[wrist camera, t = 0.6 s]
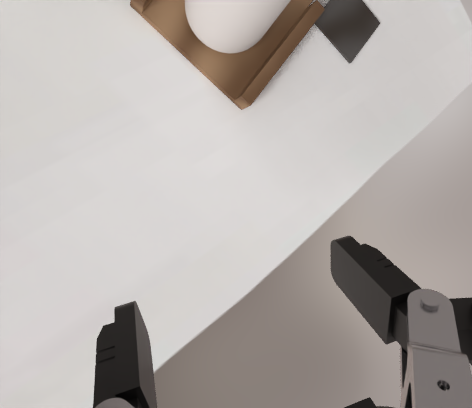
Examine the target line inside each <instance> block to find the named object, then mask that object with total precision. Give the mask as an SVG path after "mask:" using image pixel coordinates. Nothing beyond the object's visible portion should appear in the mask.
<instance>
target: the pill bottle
mask: <svg viewBox="0 0 472 408" xmlns="http://www.w3.org/2000/svg"><path fill="white" fill-rule="evenodd" d="M290 1H291V0H185V12H186V17H187V20H188V23H189V25H190V27H191V29H192V31H193V32H194V34H195V35H196V36H197V38H198V39H199V40H200V41H201V42H202V43H204V44H205V45H206V46H208V47H209V48H211V49H213V50H216V51H218V52H222V53H239V52H243V51H245V50H248V49H249V48H251V47H252V46H254V45H255V44H256V43H257V42H259V41H260V39H261V38H262V37H263V36H264V34H265V33H266V32H267V31H268V29H269V28H270V27H271V25H272V24H273V23H274V21H275V20H276V19H277V18H278V16H279V15H280V14H281V12H282V11H283V10H284V8H285V7H286V6H287V5H288V3H289V2H290Z"/></svg>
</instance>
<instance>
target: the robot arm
mask: <svg viewBox="0 0 472 408" xmlns="http://www.w3.org/2000/svg"><path fill="white" fill-rule="evenodd" d="M331 273H332V276H333V279H334V281H335V282H336V284H337V285H338V287H339V288H340V289H341V290H342V291H343V293H344V294H345V295H346V296H347V297H348V299H349V300H350V301H351V302H352V303H353V305H354V306H355V307H356V308H357V310H358V311H359V312H360V313H361V314H362V316H363V317H364V318H365V319H366V321H367V322H368V323H369V324H370V326H371V327H372V328H373V329H374V330H375V332H376V333H377V334H378V335H379V337H380V338H381V339H382V340H383V341H384V343H385V344H389V343H391V342H394V341H397V342H398V343H399V344H400V345H401V348H400V371H401V372H400V374H401V403H400V408H472V375H471V370H470V365H469V363H470V364H471V365H472V298H456V299H448V298H447V297H446V296H444V295H443V294H441V293H439V292H437V291H434V290H429V289H421V288H420V287H419V286H418V285H417V284H416V283H414V282H413V281H412V280H411V279H410V278H409V277H408V276H407V275H406V274H404V273H403V272H402V271H401V270H400V269H399V268H398V267H397V266H394V264H393V263H392V262H391V261H390V260H389V259H387V258H386V257H385V256H384V255H383V254H382V253H381V252H380V251H379V250H378V249H376V248H373V247H371V246H369V245H367V244H362V245H360V244H359V243H358V242H357V241H356V240H355V239H354V238H353V237H351V236H346V237H343V238H339V239H336V240H333V241H332V242H331ZM96 352H97V354H96V366H95V385H94V404H93V408H157V402H156V392H155V383H154V374H153V364H152V355H151V346H150V340H149V336H148V332H147V329H146V326H145V323H144V321H143V318H142V316H141V313H140V310H139V308H138V305H137V303H136V301H133V302H130V303H127V304H124V305H121V306H117V307H115V322H114V323H111V324H108V325H105V326H103V328H102V330H101V332H100V334H99V336H98V338H97V347H96ZM345 408H393V407H384V406H382V407H381V406H377V407H376V406H375V404H374V403H373V401H372V400H371V398H367V399H364V400H362V401H359V402H357V403H355V404H352V405H350V406H347V407H345Z"/></svg>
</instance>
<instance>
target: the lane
mask: <svg viewBox="0 0 472 408" xmlns="http://www.w3.org/2000/svg"><path fill="white" fill-rule="evenodd" d="M312 1H313V0H291V1H290V2H289V3H288V5H287V6H286V7H285V8H284V10H283V11H282V12H281V14H280V15H279V16H278V18H277V19H276V20H275V21H274V23H273V24H272V25H271V27H270V28H269V29H268V31H267V32H266V33H265V34H264V36H263V37H262V38H261V39H260V41H259V42H257V43H256V44H255V45H254V46H252V47H251V48H249V49H248V50H245V51H243V52H239V53H222V52H218V51H216V50H213V49H211V48H209V47H208V46H206V45H205V44H204V43H202V42H201V41H200V40H199V39H198V38H197V36H196V35H195V34H194V32H193V31H192V29H191V27H190V25H189V23H188V20H187V17H186V12H185V0H131V2H130V6H131V7H132V8H133V9H135V10H136V11H137V12H138V13H139V14H140V15H141V16H142V17H143V18H144V19H145V20H146V21H147V22H148V23H149V24H150V25H152V26H153V27H154V28H155V29H156V30H157V31H158V32H159V33H160V34H161V35H162V36H163V37H164V38H165V39H166V40H168V41H169V42H170V43H171V44H172V45H173V46H174V47H175V48H176V49H177V50H178V51H179V52H180V53H181V54H182V55H183V56H185V57H186V58H187V59H188V60H189V61H190V62H191V63H192V64H193V65H194V66H195V67H196V68H197V69H198V70H199V71H200V72H202V73H203V74H204V75H205V76H206V77H207V78H208V79H209V80H210V81H211V82H212V83H213V84H214V85H215V86H216V87H217V88H219V89H220V90H221V91H222V92H223V93H224V94H225V95H226V96H227V97H228V98H229V99H230V100H231V101H232V102H233V103H235V104H236V105H237V106H238V107H239V108H240V109H241V110H242V109H244V108H246V107H248V106H250V105H251V104H252V103H253V102H254V100H255V99H256V98H257V97H258V95H259V94H260V93H261V91H262V90H263V89H264V87H265V86H266V85H267V84H268V82H269V81H270V80H271V78H272V77H273V76H274V75H275V73H276V72H277V71H278V69H279V68H280V67H281V66H282V64H283V63H284V62H285V60H286V59H287V58H288V56H289V55H290V54H291V53H292V51H293V50H294V49H295V47H296V46H297V45H298V44H299V42H300V41H301V40H302V38H303V37H304V36H305V35H306V33H307V32H308V31H309V29H310V28H311V27H312V25H313V24H314V23H315V24H316V26H317V27H318V28H319V29H320V30H321V31H322V32H323V34H324V35H325V36H326V37H327V38H328V39H329V41H330V42H331V43H332V44H333V45H334V46H335V47H336V49H337V50H338V51H339V52H340V53H341V54H342V55H343V57H344V58H345V59H346V60H347V61H348V62H349V63H351V62H352V61H353V59H354V58H355V57H356V55H357V54H358V53H359V51H360V50H361V49H362V47H363V46H364V44H365V43H366V42H367V40H368V39H369V38H370V36H371V35H372V34H373V32H374V31H375V30H376V28H377V27H378V25H379V24H380V22H379V21H378V20H377V18H376V17H375V16H374V15H373V13H372V12H371V11H370V10H369V8H368V7H367V6H366V5H365V3H364V2H363V1H362V0H330V1H329V2H328V3H327V5H326V6H325V7H324V8H323V6H322V5H321V4H320V3H319V2H318V1H317V0H316V1H315V2H314V3H312V4H311V5H310V3H311V2H312ZM309 5H310V6H309ZM308 6H309V7H308ZM307 7H308V8H307Z"/></svg>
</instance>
